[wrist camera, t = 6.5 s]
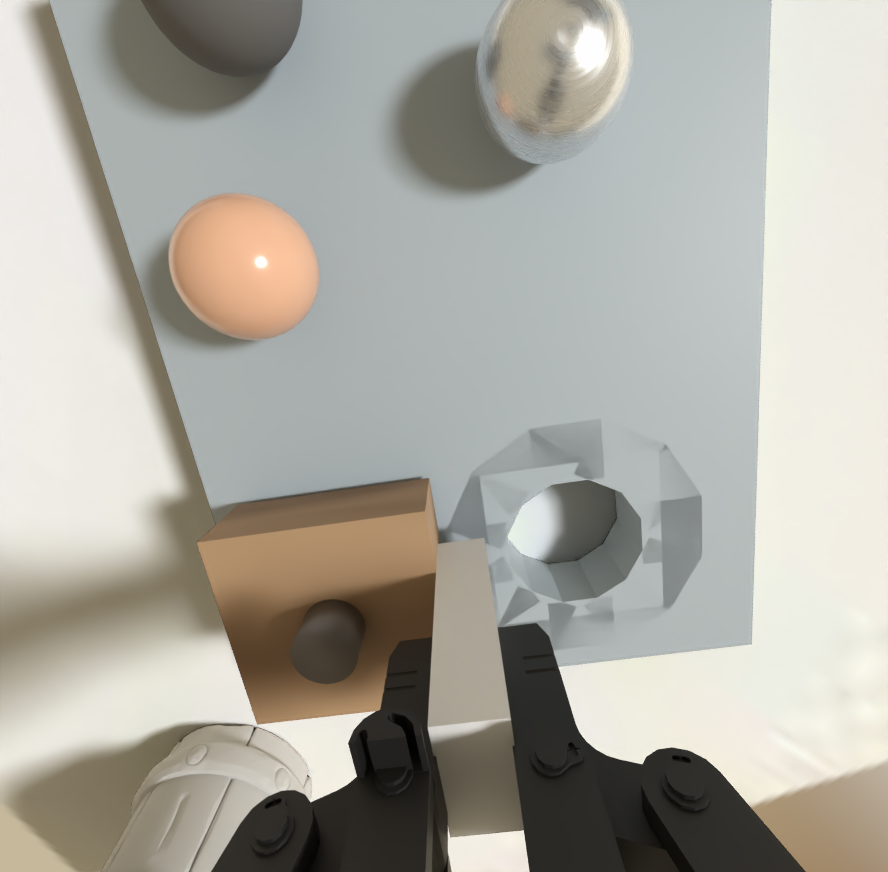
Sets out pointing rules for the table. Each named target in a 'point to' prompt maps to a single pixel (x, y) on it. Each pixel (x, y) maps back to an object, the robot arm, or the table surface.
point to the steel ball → (553, 75)
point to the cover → (324, 593)
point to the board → (475, 293)
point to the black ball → (229, 31)
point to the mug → (204, 798)
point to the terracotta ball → (243, 266)
